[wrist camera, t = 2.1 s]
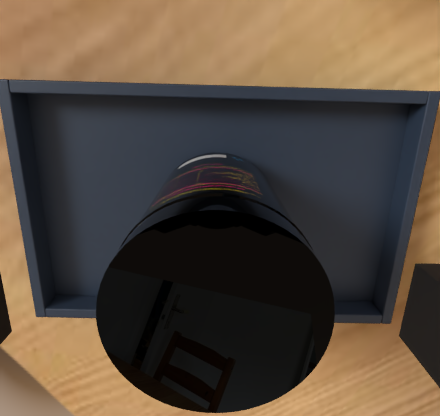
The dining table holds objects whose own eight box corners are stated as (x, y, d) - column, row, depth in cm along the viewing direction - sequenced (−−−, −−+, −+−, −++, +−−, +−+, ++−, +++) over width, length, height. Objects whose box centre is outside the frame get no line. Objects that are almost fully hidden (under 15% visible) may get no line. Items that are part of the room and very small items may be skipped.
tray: (419, 92, 18) (442, 91, 16) (376, 305, 22) (391, 324, 20) (18, 81, 18) (-6, 79, 16) (50, 299, 22) (35, 317, 20)
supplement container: (184, 274, 21) (153, 437, 11) (139, 174, 19) (49, 258, 9) (289, 239, 20) (360, 378, 10) (254, 131, 18) (297, 170, 8)
